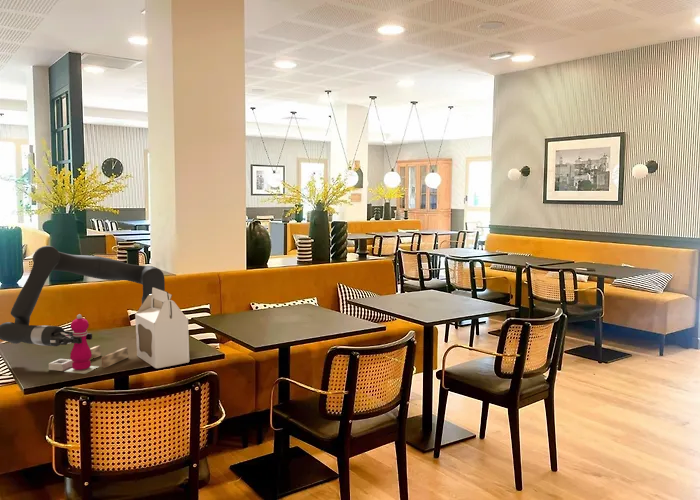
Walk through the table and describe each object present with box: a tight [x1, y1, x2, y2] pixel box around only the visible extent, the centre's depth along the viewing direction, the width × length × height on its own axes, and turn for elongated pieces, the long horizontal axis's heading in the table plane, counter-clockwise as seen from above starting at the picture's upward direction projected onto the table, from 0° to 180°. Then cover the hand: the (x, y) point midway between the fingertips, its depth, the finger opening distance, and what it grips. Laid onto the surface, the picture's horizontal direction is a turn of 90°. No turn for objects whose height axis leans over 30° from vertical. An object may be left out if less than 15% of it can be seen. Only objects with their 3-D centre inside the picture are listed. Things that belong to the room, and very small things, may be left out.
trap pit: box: [48, 358, 73, 372], centre depth 217 cm, size 6×6×2 cm
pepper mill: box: [69, 313, 92, 369], centre depth 214 cm, size 7×7×20 cm
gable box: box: [134, 287, 190, 369], centre depth 227 cm, size 22×13×28 cm, turn 38°
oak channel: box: [89, 345, 129, 368], centre depth 225 cm, size 14×14×4 cm
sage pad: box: [63, 365, 100, 375], centre depth 215 cm, size 8×9×1 cm
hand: (86, 338), depth 213 cm, fingers closed on pepper mill, 5 cm apart
